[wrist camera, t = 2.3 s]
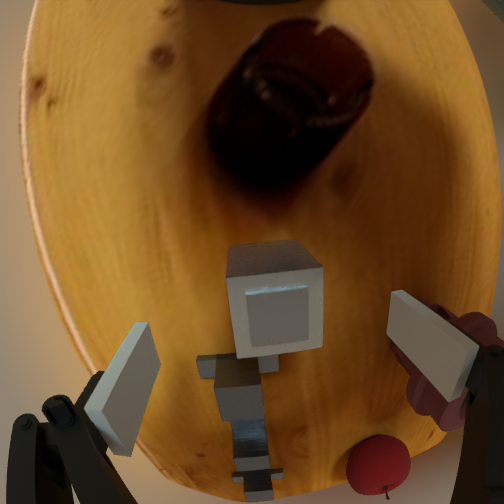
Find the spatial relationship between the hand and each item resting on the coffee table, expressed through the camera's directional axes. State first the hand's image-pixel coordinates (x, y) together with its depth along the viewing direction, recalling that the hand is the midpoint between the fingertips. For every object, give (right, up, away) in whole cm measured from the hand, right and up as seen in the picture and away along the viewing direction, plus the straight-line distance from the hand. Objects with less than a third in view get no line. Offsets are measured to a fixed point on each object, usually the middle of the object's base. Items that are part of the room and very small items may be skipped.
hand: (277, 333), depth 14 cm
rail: (-1, -16, +12) cm, 20 cm away
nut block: (0, +2, +8) cm, 8 cm away
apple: (+15, -23, +16) cm, 32 cm away
